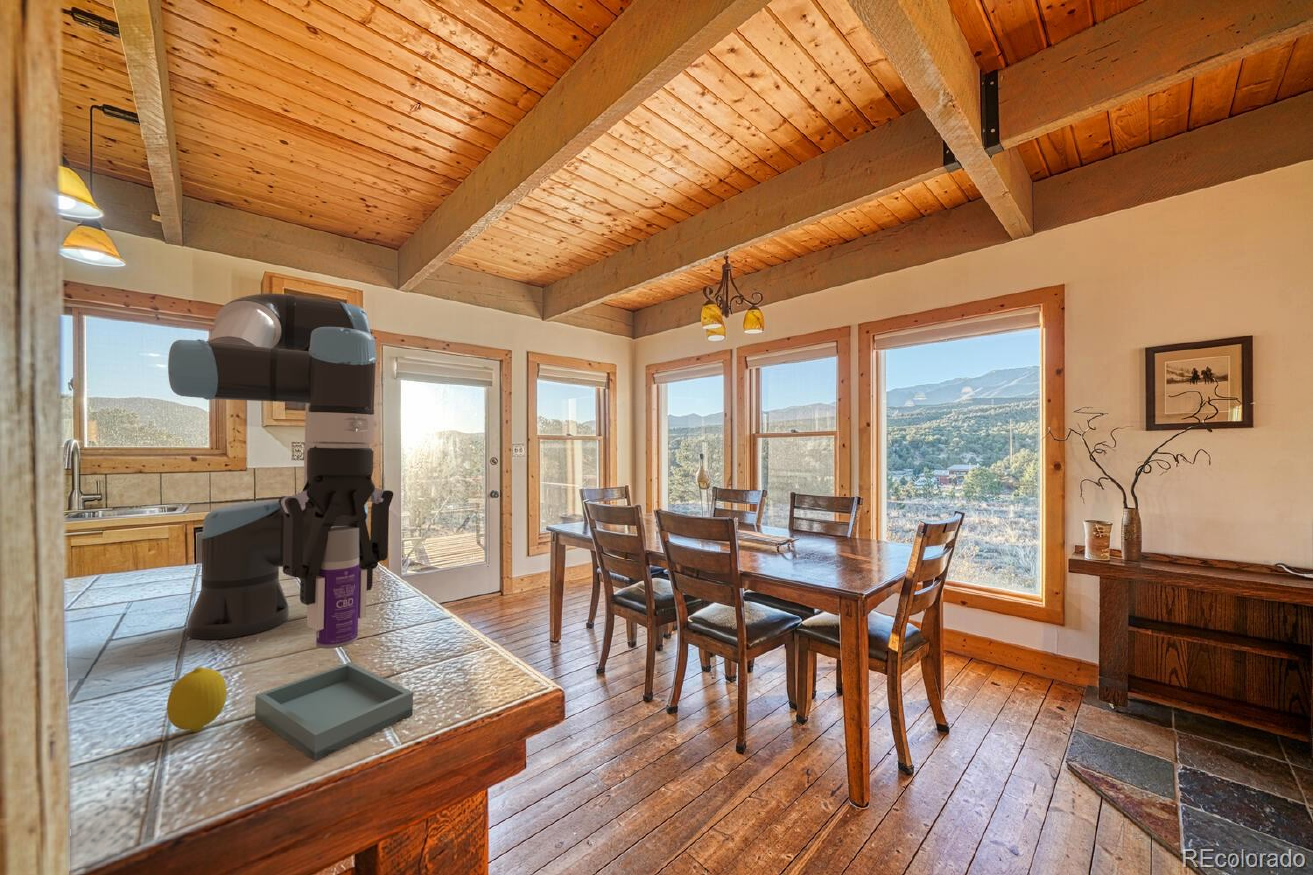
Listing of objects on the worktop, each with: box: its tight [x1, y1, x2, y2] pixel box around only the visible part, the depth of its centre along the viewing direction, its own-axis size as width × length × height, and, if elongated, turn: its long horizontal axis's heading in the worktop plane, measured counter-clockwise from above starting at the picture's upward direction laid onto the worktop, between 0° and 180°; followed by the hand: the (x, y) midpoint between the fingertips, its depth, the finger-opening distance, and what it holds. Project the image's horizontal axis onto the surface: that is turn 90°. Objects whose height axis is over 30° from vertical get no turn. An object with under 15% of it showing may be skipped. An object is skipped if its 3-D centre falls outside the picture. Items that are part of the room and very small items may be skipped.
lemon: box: [166, 666, 228, 733], centre depth 64 cm, size 6×6×8 cm
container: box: [315, 526, 359, 649], centre depth 68 cm, size 5×5×15 cm
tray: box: [254, 662, 414, 762], centre depth 68 cm, size 16×12×3 cm
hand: (337, 621), depth 68 cm, fingers closed on container, 5 cm apart
